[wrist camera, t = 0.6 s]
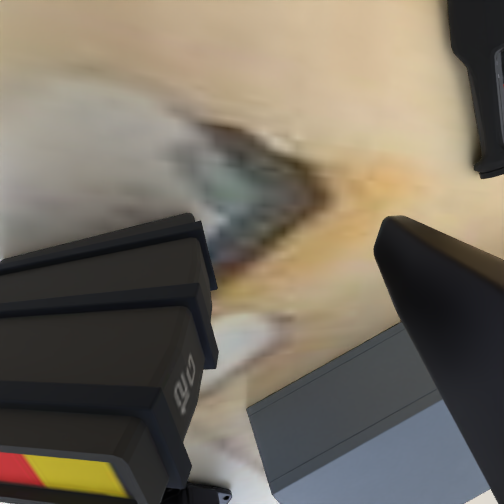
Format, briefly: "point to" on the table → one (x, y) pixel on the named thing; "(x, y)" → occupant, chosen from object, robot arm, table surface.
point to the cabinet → (365, 433)
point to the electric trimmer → (483, 72)
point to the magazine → (104, 364)
